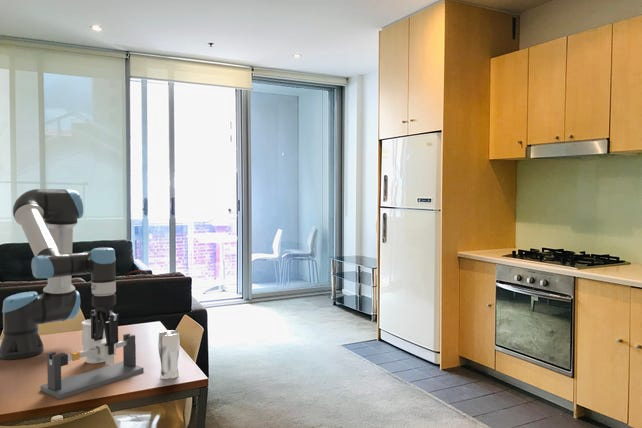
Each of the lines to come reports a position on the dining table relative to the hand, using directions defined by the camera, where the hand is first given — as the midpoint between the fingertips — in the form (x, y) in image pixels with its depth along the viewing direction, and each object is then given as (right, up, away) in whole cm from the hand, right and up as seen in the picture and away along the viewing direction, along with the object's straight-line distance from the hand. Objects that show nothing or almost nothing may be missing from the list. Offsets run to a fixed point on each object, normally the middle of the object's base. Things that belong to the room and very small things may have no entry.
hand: (104, 362), depth 167 cm
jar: (-11, -5, +18) cm, 21 cm away
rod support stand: (-2, -5, -3) cm, 6 cm away
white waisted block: (+22, -5, +1) cm, 22 cm away
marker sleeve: (0, +2, 0) cm, 2 cm away
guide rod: (-2, +3, -3) cm, 5 cm away
